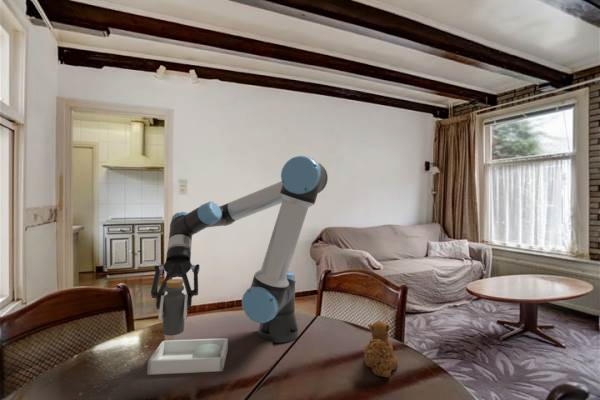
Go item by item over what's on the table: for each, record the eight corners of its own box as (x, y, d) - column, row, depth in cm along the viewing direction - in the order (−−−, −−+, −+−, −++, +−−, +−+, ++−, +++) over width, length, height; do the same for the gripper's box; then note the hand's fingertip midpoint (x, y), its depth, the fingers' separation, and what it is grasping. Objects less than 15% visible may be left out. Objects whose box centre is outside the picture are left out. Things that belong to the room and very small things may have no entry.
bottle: (176, 336, 88) (178, 283, 88) (158, 334, 89) (159, 282, 89) (187, 328, 93) (189, 279, 94) (170, 326, 95) (172, 277, 95)
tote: (227, 352, 99) (228, 338, 99) (222, 374, 86) (223, 358, 86) (162, 355, 96) (162, 340, 97) (147, 378, 84) (147, 361, 84)
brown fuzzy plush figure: (398, 361, 95) (398, 318, 96) (398, 386, 82) (399, 336, 82) (365, 355, 98) (366, 314, 99) (360, 379, 85) (361, 331, 85)
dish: (219, 351, 97) (219, 342, 97) (221, 364, 89) (221, 353, 89) (192, 355, 94) (192, 345, 94) (192, 368, 87) (192, 358, 87)
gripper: (208, 257, 109) (207, 321, 93) (149, 258, 103) (137, 326, 87) (208, 244, 104) (207, 309, 88) (147, 245, 98) (134, 314, 82)
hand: (172, 317), depth 88 cm, fingers closed on bottle, 6 cm apart
